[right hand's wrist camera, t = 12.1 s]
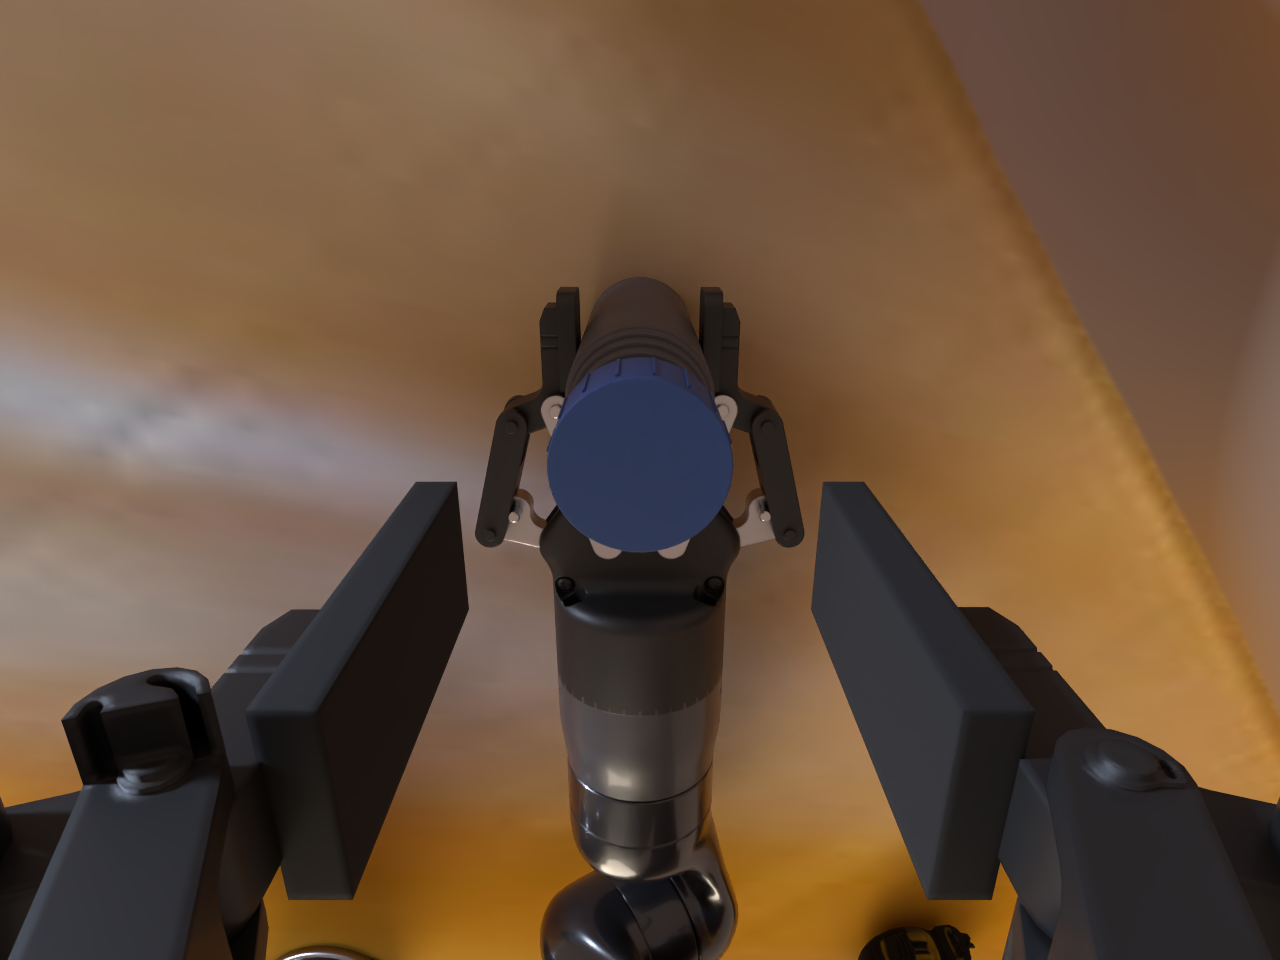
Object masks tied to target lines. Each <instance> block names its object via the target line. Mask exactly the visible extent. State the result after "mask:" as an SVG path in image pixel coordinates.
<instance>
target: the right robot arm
mask: <svg viewBox="0 0 1280 960" xmlns="http://www.w3.org/2000/svg"><path fill="white" fill-rule="evenodd" d="M468 610H469V605H468V595H467V584H466V574H465V563H464V553H463V542H462V531H461V521H460V510H459V500H458V489H457V482H416V483H415V484H414V485H413V487H412V488H411V489H410V491H409V492H408V493H407V495H406V496H405V497H404V499H403V500H402V501H401V503H400V504H399V505H398V507H397V508H396V509H395V511H394V512H393V513H392V515H391V516H390V517H389V519H388V520H387V521H386V523H385V524H384V525H383V527H382V528H381V529H380V531H379V532H378V533H377V535H376V536H375V537H374V539H373V540H372V541H371V543H370V544H369V545H368V547H367V548H366V549H365V551H364V552H363V553H362V555H361V556H360V557H359V559H358V560H357V561H356V563H355V564H354V565H353V567H352V568H351V569H350V571H349V572H348V573H347V575H346V576H345V578H344V579H343V580H342V582H341V583H340V584H339V586H338V587H337V588H336V590H335V591H334V592H333V594H332V595H331V596H330V598H329V599H328V600H327V602H326V603H325V604H324V606H323V607H322V608H321V610H290V611H289V612H287V613H286V614H284V615H283V616H281V617H279V618H278V619H276V620H275V621H273V622H271V623H270V624H268V625H267V626H265V627H264V628H262V629H261V630H260V632H259V633H258V634H257V635H256V636H255V637H254V639H253V640H252V641H251V642H250V643H249V645H248V646H247V647H246V648H245V649H244V653H243V655H239V656H238V658H237V659H236V660H235V661H234V662H233V663H232V665H231V666H230V667H229V668H228V673H224V674H223V675H222V676H221V678H220V679H219V680H218V681H217V682H216V683H215V685H214V686H213V687H212V688H211V689H210V685H209V681H208V679H207V678H206V677H204V676H203V675H202V674H200V673H199V672H198V671H195V670H189V669H183V668H178V667H176V668H164V669H152V670H148V671H144V672H140V673H137V674H133V675H129V676H125V677H123V678H120V679H118V680H116V681H114V682H111V683H109V684H107V685H105V686H102V687H100V688H98V689H96V690H95V691H93V692H92V693H90V694H89V695H87V696H86V697H84V698H83V699H81V700H80V701H79V702H77V703H76V704H75V705H74V706H73V707H72V708H71V709H70V710H69V712H68V713H67V714H66V715H65V716H64V718H63V719H62V720H61V721H62V724H63V727H64V730H65V733H66V736H67V739H68V741H69V744H70V747H71V750H72V753H73V756H74V759H75V762H76V765H77V768H78V771H79V774H80V777H81V779H82V782H83V787H82V790H81V791H77V792H74V793H70V794H65V795H61V796H56V797H51V798H47V799H42V800H38V801H33V802H29V803H24V804H19V805H15V806H10V807H6V808H4V805H3V803H2V800H1V798H0V960H265V958H266V948H267V938H268V929H269V927H268V921H267V915H266V910H265V906H264V902H263V896H264V895H265V893H266V891H267V889H268V887H269V885H270V883H271V881H272V879H273V877H274V876H275V874H276V872H277V870H278V868H279V866H281V870H282V874H283V878H284V883H285V887H286V891H287V896H288V900H353V897H354V895H355V892H356V890H357V887H358V885H359V882H360V880H361V877H362V875H363V872H364V870H365V867H366V865H367V862H368V860H369V857H370V855H371V852H372V850H373V847H374V845H375V842H376V840H377V837H378V835H379V832H380V830H381V827H382V825H383V822H384V820H385V817H386V815H387V812H388V810H389V807H390V805H391V802H392V800H393V797H394V795H395V792H396V790H397V787H398V785H399V782H400V780H401V777H402V775H403V772H404V770H405V767H406V765H407V762H408V760H409V757H410V755H411V752H412V750H413V747H414V745H415V742H416V740H417V737H418V735H419V733H420V730H421V728H422V725H423V723H424V720H425V718H426V715H427V713H428V710H429V708H430V705H431V703H432V700H433V698H434V695H435V693H436V690H437V688H438V685H439V683H440V680H441V678H442V675H443V673H444V670H445V668H446V665H447V663H448V660H449V658H450V655H451V653H452V650H453V648H454V645H455V643H456V640H457V638H458V635H459V633H460V630H461V628H462V625H463V623H464V620H465V618H466V615H467V613H468ZM811 610H812V613H813V615H814V618H815V620H816V623H817V625H818V628H819V630H820V633H821V635H822V638H823V640H824V643H825V645H826V648H827V650H828V653H829V655H830V658H831V660H832V663H833V665H834V668H835V670H836V673H837V675H838V678H839V680H840V683H841V685H842V688H843V690H844V693H845V695H846V698H847V700H848V703H849V705H850V708H851V710H852V713H853V715H854V718H855V720H856V723H857V725H858V728H859V730H860V733H861V735H862V737H863V740H864V742H865V745H866V747H867V750H868V752H869V755H870V757H871V760H872V762H873V765H874V767H875V770H876V772H877V775H878V777H879V780H880V782H881V785H882V787H883V790H884V792H885V795H886V797H887V800H888V802H889V805H890V807H891V810H892V812H893V815H894V817H895V820H896V822H897V825H898V827H899V830H900V832H901V835H902V837H903V840H904V842H905V845H906V847H907V850H908V852H909V855H910V857H911V860H912V862H913V865H914V867H915V870H916V872H917V875H918V877H919V880H920V882H921V885H922V887H923V890H924V892H925V895H926V897H927V900H992V896H993V891H994V887H995V883H996V878H997V874H998V870H999V866H1000V862H1001V864H1002V866H1003V868H1004V870H1005V872H1006V874H1007V875H1008V877H1009V879H1010V881H1011V883H1012V885H1013V887H1014V889H1015V891H1016V892H1017V894H1018V898H1017V902H1016V906H1015V910H1014V914H1013V918H1012V922H1011V926H1010V930H1009V934H1008V938H1007V942H1006V946H1005V950H1004V954H1003V958H1002V960H1280V798H1279V800H1278V803H1277V805H1276V804H1272V803H1267V802H1262V801H1258V800H1253V799H1248V798H1244V797H1239V796H1235V795H1230V794H1225V793H1221V792H1216V791H1212V790H1208V789H1204V788H1201V787H1198V786H1197V784H1196V782H1195V781H1194V780H1193V778H1192V777H1191V775H1190V774H1189V773H1188V771H1187V770H1186V769H1185V767H1184V766H1183V765H1181V764H1180V763H1179V762H1178V761H1176V760H1175V759H1174V758H1172V757H1171V756H1170V755H1169V754H1167V753H1166V752H1165V751H1164V750H1162V749H1160V748H1158V747H1156V746H1154V745H1152V744H1150V743H1148V742H1146V741H1144V740H1142V739H1140V738H1138V737H1135V736H1131V735H1128V734H1125V733H1121V732H1118V731H1115V730H1112V729H1106V728H1105V727H1104V726H1103V725H1102V723H1101V722H1100V721H1099V720H1098V719H1097V718H1096V716H1095V715H1094V714H1093V713H1092V712H1091V710H1090V709H1089V708H1088V707H1087V706H1086V705H1085V703H1084V702H1083V701H1082V700H1081V699H1080V698H1079V696H1078V695H1077V694H1076V693H1075V692H1074V691H1073V689H1072V688H1071V687H1070V686H1069V685H1068V684H1067V682H1066V681H1065V680H1064V679H1063V678H1062V677H1061V675H1060V674H1059V673H1058V672H1057V671H1053V669H1052V665H1051V664H1050V662H1049V661H1048V660H1047V659H1046V658H1045V657H1044V655H1043V654H1042V653H1041V652H1037V647H1036V646H1035V645H1034V644H1033V643H1032V641H1031V640H1030V639H1029V638H1028V637H1027V635H1026V634H1025V633H1024V632H1023V631H1022V630H1021V628H1020V627H1019V626H1018V625H1016V624H1014V623H1013V622H1011V621H1010V620H1008V619H1007V618H1005V617H1003V616H1002V615H1000V614H999V613H997V612H995V611H994V610H992V609H991V608H989V607H957V606H956V604H955V603H954V602H953V600H952V599H951V598H950V596H949V595H948V594H947V592H946V591H945V590H944V588H943V587H942V586H941V584H940V583H939V582H938V580H937V579H936V578H935V576H934V575H933V573H932V572H931V571H930V569H929V568H928V567H927V565H926V564H925V563H924V561H923V560H922V559H921V557H920V556H919V555H918V553H917V552H916V551H915V549H914V548H913V547H912V545H911V544H910V543H909V541H908V540H907V539H906V537H905V536H904V535H903V533H902V532H901V531H900V529H899V528H898V527H897V525H896V524H895V523H894V521H893V520H892V519H891V517H890V516H889V515H888V513H887V512H886V511H885V509H884V508H883V507H882V505H881V504H880V503H879V501H878V500H877V499H876V497H875V496H874V495H873V493H872V492H871V491H870V489H869V488H868V487H867V485H866V484H865V483H864V482H823V489H822V500H821V510H820V521H819V531H818V542H817V552H816V563H815V574H814V584H813V595H812V605H811Z"/></svg>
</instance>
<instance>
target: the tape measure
mask: <svg viewBox="0 0 1280 960" xmlns="http://www.w3.org/2000/svg"><path fill="white" fill-rule="evenodd" d="M969 948H975V946H974V945H973V944H972V943H970V937H969V936H968V934H965V933H960V932H959V930H957V929H956V928H955V927H953V926H950V925H941V926H935V927H934V928H933V929H932V930H931V931H929V930H926V929H922V928H917V927H900V928H896V929H891V930H889V931H886V932H884V933H882V934H880V935H878V936H876V937H874V938H873V939H872V940H871V941H869V942H868V943H867V945H866V946H865V947H864V948H863V949H862V951H861V953H860V955H859V958H858V960H971V955H970V951H969Z"/></svg>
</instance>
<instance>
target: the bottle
mask: <svg viewBox="0 0 1280 960" xmlns="http://www.w3.org/2000/svg"><path fill="white" fill-rule="evenodd" d="M652 357H655V359H659V360H662V361H666V362H669V363H672V364H674V365H676V366H679V367H681V368H682V369H684V368H686V369H687V370H688V372H689V373H690V374H692V375H693V376H694V377H695V378H697V379H698V380H699V381H700V382H701V383H702V384H703V385H704V386H705V388H706V389H707V390H708V392H709V391H711V392H712V394H713V397H714V400H715V391H714V384H713V380H712V376H711V373H710V371H709V368H708V365H707V363H706V360H705V357H704V355H703V352H702V349H701V346H700V344H699V341H698V338H697V336H696V333H695V330H694V328H693V325H692V322H691V320H690V317H689V314H688V311H687V309H686V307H685V305H684V303H683V301H682V300H681V298H680V297H679V296H678V295H677V293H676V292H675V291H674V290H672V289H671V288H670V287H668V286H667V285H665V284H664V283H661V282H659V281H657V280H653V279H649V278H630V279H626V280H623V281H621V282H618V283H616V284H615V285H613V286H611V287H610V288H609V289H607V290H606V291H605V292H604V293H603V294H602V295H601V297H600V298H599V299H598V301H597V302H596V304H595V306H594V308H593V311H592V313H591V316H590V319H589V322H588V324H587V327H586V330H585V332H584V335H583V338H582V341H581V343H580V346H579V349H578V351H577V354H576V357H575V359H574V362H573V365H572V368H571V370H570V373H569V376H568V380H567V384H566V391H565V397H567V398H568V396H569V394H570V393H571V392H572V390H573V389H574V388H575V386H576V385H577V384H578V383H579V382H580V381H581V380H582V379H583V378H584V377H585V376H586V374H587V373H588V372H589V374H590V373H591V372H593V371H594V370H596V369H598V368H600V367H601V366H603V365H606V364H609V363H611V362H614V361H617V359H619V358H620V360H622V359H627V358H652Z"/></svg>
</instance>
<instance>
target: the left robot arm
mask: <svg viewBox="0 0 1280 960" xmlns="http://www.w3.org/2000/svg"><path fill="white" fill-rule="evenodd" d="M739 336H740V320H739V317H738V314H737V311H736V309H735V307H734V306H733V304H732V303H723V292H722V290H721V289H720V288H719V287H701V291H700V322H699V344H700V346H701V349H702V352H703V355H704V357H705V360H706V363H707V365H708V368H709V371H710V373H711V376H712V380H713V384H714V391H715V403H716V405H717V407H718V410H719V413H720V415H721V418H722V420H724V421H725V424H726V427H727V429H728V432H729V433H730V430H731V428H732V427H734V428H736V429H739V430H742V431H745V432H748V433H749V436H750V441H751V446H752V450H753V455H754V460H755V464H756V469H757V474H758V478H759V483H760V487H761V488H758V489H754V490H752V491H751V492H750V493H749V494H748V496H747V498H746V509H745V511H744V513H743V514H742V515H741V516H740V517H739V518H737V519H733V518H732V516H731V515H730V514H729V512H728V511H727V510H726V508H725V507H724V506H723V505H722V507H721V509H720V510H719V512H718V513H717V515H716V516H715V517H714V519H713V520H712V521H711V522H710V523H709V524H708V525H707V526H706V527H705V528H704V529H703V530H701V531H700V532H699V533H698V534H696V535H695V536H693V537H692V538H690V539H689V540H687V541H685V542H683V543H681V544H679V545H676V546H673V547H670V548H668V549H663V550H659V551H653V552H628V551H621V550H617V549H613V548H609V547H607V546H604V545H602V544H599V543H597V542H595V541H593V540H592V539H590V538H588V537H587V536H585V535H584V534H582V533H581V532H580V531H579V530H577V529H576V528H575V527H574V526H573V525H572V524H571V523H570V522H569V521H568V520H567V518H566V517H565V516H564V515H563V513H562V512H561V510H560V509H559V507H558V505H556V507H555V508H554V509H553V511H552V512H551V513H550V515H549V516H548V517H547V519H546V520H545V519H542V518H540V517H539V516H538V515H537V514H536V513H535V511H534V507H533V504H534V501H533V497H532V496H531V494H530V493H529V492H527V491H526V490H523V489H519V485H520V480H521V475H522V470H523V466H524V461H525V456H526V451H527V446H528V442H529V437H530V433H533V432H535V431H538V430H541V429H544V428H547V429H548V431H549V434H550V436H552V433H553V430H554V428H555V427H556V424H557V421H558V415H559V412H560V409H561V406H562V403H563V401H564V398H565V391H566V384H567V380H568V376H569V373H570V370H571V368H572V365H573V362H574V359H575V357H576V354H577V351H578V349H579V346H580V343H581V331H580V299H579V288H578V287H560V288H559V290H558V291H557V296H556V303H548V304H547V305H546V307H545V308H544V310H543V313H542V316H541V319H540V337H541V338H540V341H541V360H542V379H543V386H542V388H541V389H540V390H538V391H536V392H534V393H531V394H528V395H525V396H522V395H517V396H514V397H512V398H511V399H509V401H508V402H507V404H506V406H505V409H504V411H503V412H502V413H501V414H500V416H499V417H498V419H497V421H496V426H495V431H494V436H493V441H492V447H491V452H490V457H489V462H488V467H487V473H486V478H485V483H484V488H483V494H482V499H481V504H480V509H479V515H478V520H477V525H476V530H475V536H476V539H477V541H478V542H479V543H480V544H481V545H483V546H485V547H496V546H498V545H500V544H501V543H502V542H503V540H508V541H513V542H517V543H521V544H526V545H530V546H535V547H539V548H540V552H541V554H542V556H543V558H544V559H545V561H546V562H547V564H548V565H549V567H550V569H551V572H552V575H553V583H554V603H555V623H556V643H557V663H558V682H559V702H560V715H561V723H562V729H563V733H564V737H565V742H566V747H567V754H568V778H569V798H570V815H571V826H572V831H573V836H574V840H575V843H576V845H577V847H578V849H579V852H580V853H581V855H582V856H583V858H584V859H585V860H586V862H587V863H588V864H589V865H590V866H591V867H592V868H593V869H595V870H594V871H592V872H590V873H588V874H587V875H585V876H583V877H581V878H579V879H578V880H576V881H574V882H573V883H571V884H569V885H567V886H566V887H564V888H563V889H562V890H561V891H560V892H558V893H557V894H556V895H555V896H554V897H553V899H552V900H551V901H550V903H549V905H548V907H547V909H546V911H545V913H544V916H543V920H542V925H541V930H540V949H541V957H542V960H720V959H721V958H722V956H723V955H724V954H725V952H726V951H727V949H728V947H729V945H730V943H731V941H732V939H733V936H734V934H735V931H736V927H737V921H738V905H737V901H736V896H735V893H734V889H733V886H732V883H731V881H730V878H729V875H728V872H727V869H726V866H725V863H724V860H723V856H722V852H721V848H720V845H719V841H718V837H717V833H716V829H715V826H714V822H713V818H712V813H711V796H712V772H713V751H714V745H715V740H716V735H717V731H718V726H719V719H720V708H721V687H722V666H723V644H724V621H725V599H726V578H727V573H728V570H729V568H730V566H731V564H732V562H733V561H734V560H735V558H736V557H737V555H738V553H739V550H740V547H743V546H747V545H751V544H756V543H760V542H764V541H769V540H773V539H776V541H777V542H778V544H780V545H781V546H783V547H788V548H789V547H794V546H797V545H798V544H799V543H800V542H801V541H802V540H803V538H804V528H803V522H802V517H801V512H800V507H799V502H798V497H797V492H796V487H795V482H794V477H793V472H792V467H791V462H790V456H789V451H788V446H787V441H786V436H785V431H784V426H783V422H782V419H781V417H780V416H779V414H778V412H777V411H776V409H775V407H774V406H773V404H772V402H771V401H770V400H769V399H768V398H767V397H765V396H759V395H758V396H755V395H752V394H749V393H746V392H744V391H742V390H741V389H739V388H738V386H737V379H738V357H739ZM277 960H372V959H370V958H368V957H367V956H365V955H362V954H360V953H357V952H354V951H351V950H348V949H343V948H338V947H330V946H314V947H306V948H301V949H297V950H294V951H291V952H289V953H286V954H285V955H283V956H281V957H280V958H278V959H277Z"/></svg>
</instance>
